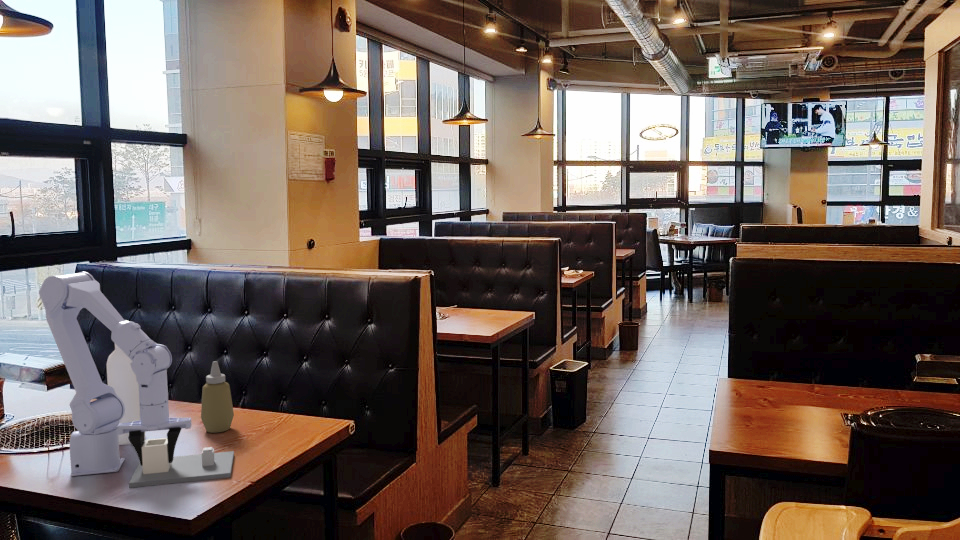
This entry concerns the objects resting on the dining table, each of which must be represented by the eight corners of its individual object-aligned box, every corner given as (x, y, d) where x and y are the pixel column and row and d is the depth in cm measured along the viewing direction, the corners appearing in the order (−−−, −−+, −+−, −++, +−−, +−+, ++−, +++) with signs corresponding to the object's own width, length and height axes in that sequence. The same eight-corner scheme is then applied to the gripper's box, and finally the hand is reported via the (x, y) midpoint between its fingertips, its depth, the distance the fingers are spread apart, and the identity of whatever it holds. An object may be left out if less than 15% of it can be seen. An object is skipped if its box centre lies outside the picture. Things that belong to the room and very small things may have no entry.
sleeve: (143, 474, 157) (141, 447, 157) (147, 466, 162) (145, 439, 161) (168, 471, 159) (166, 444, 158) (171, 463, 163) (170, 437, 163)
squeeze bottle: (239, 425, 194) (236, 358, 192) (226, 435, 186) (223, 365, 184) (210, 424, 195) (207, 358, 193) (195, 434, 187) (192, 365, 185)
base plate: (129, 487, 153) (128, 466, 152) (141, 464, 166) (139, 444, 166) (230, 477, 158) (229, 457, 157) (233, 455, 171) (233, 436, 171)
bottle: (110, 437, 184) (103, 320, 181) (144, 432, 188) (138, 317, 185) (110, 447, 177) (103, 325, 174) (146, 442, 181) (139, 322, 178)
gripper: (113, 409, 153) (117, 472, 154) (187, 404, 157) (190, 465, 158) (120, 400, 160) (123, 461, 161) (191, 395, 164) (194, 454, 165)
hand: (157, 462), depth 160 cm, fingers closed on sleeve, 5 cm apart
